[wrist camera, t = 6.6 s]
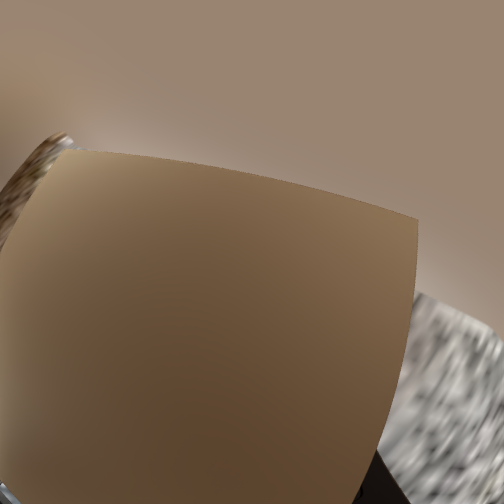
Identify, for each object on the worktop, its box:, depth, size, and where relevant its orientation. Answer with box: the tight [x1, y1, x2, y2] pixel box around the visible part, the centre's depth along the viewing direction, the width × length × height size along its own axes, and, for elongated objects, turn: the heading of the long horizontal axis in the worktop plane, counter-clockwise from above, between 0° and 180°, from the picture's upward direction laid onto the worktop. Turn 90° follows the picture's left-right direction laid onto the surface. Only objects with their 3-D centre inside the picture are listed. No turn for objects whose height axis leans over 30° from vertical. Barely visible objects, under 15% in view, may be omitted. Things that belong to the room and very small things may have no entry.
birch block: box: [0, 149, 418, 504], centre depth 8 cm, size 5×5×13 cm
